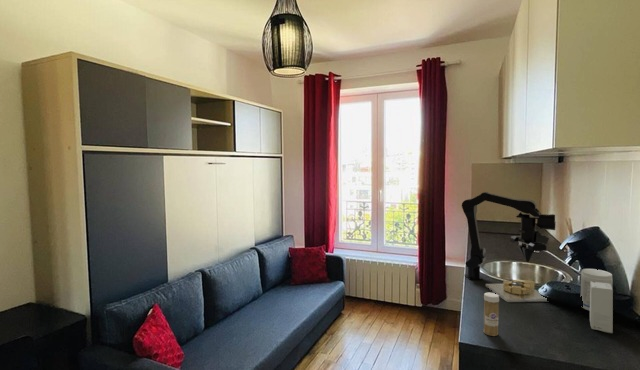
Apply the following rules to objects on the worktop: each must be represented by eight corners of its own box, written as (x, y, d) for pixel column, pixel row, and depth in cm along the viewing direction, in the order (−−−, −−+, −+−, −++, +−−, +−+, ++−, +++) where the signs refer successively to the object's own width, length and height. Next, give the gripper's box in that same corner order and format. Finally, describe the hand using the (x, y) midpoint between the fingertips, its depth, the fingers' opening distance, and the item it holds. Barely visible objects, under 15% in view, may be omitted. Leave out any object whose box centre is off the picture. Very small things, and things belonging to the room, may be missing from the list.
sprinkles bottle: (488, 337, 112) (489, 297, 111) (480, 330, 117) (481, 292, 116) (501, 336, 113) (502, 296, 112) (493, 329, 117) (494, 291, 116)
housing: (485, 286, 158) (485, 276, 158) (523, 285, 158) (524, 276, 158) (507, 302, 140) (507, 291, 140) (550, 301, 140) (551, 290, 140)
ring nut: (516, 295, 143) (516, 288, 143) (498, 287, 152) (498, 280, 152) (542, 291, 147) (542, 284, 147) (522, 283, 156) (522, 277, 156)
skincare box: (612, 334, 113) (614, 290, 112) (589, 329, 117) (591, 286, 116) (610, 324, 120) (611, 283, 119) (588, 319, 124) (589, 279, 123)
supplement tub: (583, 302, 139) (585, 266, 138) (614, 309, 132) (615, 272, 131) (576, 308, 133) (578, 271, 132) (608, 316, 126) (609, 277, 125)
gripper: (560, 231, 145) (559, 267, 146) (533, 224, 164) (532, 255, 165) (533, 232, 145) (532, 267, 146) (510, 224, 164) (509, 256, 165)
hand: (527, 261), depth 155 cm, fingers closed
